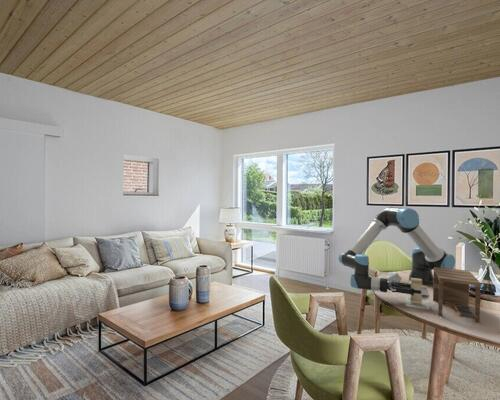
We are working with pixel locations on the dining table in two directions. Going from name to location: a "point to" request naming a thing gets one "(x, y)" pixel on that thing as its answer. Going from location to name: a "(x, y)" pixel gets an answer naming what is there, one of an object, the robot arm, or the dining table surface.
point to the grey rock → (393, 277)
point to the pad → (416, 305)
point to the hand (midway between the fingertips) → (427, 291)
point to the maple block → (417, 284)
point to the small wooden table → (456, 290)
